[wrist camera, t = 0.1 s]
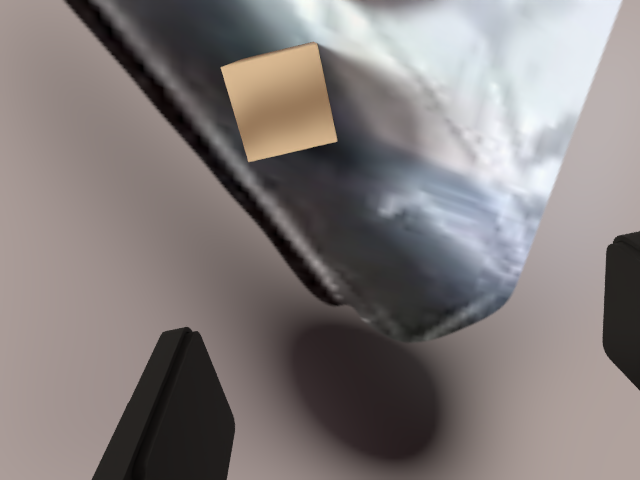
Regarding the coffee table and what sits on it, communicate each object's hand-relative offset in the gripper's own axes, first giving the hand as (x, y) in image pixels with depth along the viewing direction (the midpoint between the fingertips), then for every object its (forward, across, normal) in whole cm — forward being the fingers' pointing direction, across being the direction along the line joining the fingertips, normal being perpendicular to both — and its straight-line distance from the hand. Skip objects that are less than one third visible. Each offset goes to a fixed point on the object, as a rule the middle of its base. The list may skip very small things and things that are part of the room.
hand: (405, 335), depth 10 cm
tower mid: (+26, +3, -3) cm, 26 cm away
